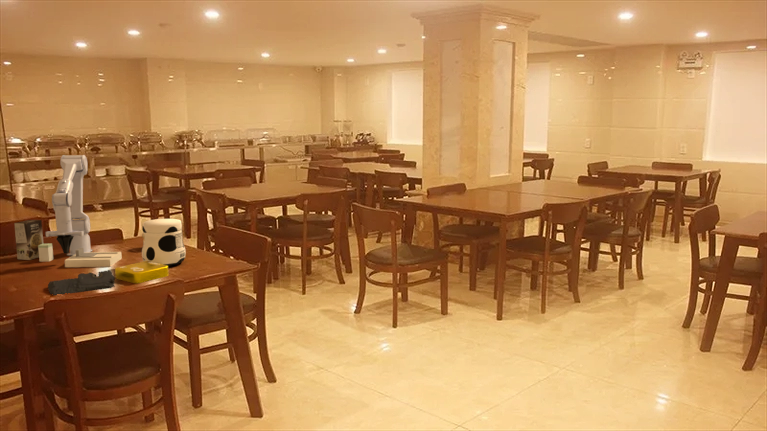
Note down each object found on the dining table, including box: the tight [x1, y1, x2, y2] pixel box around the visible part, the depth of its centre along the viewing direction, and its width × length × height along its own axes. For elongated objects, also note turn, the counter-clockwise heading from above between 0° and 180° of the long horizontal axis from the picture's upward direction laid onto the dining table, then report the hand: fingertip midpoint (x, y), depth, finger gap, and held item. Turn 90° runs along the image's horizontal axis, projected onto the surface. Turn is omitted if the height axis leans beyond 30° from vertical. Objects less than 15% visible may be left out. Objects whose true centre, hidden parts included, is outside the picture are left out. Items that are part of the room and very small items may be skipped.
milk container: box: [141, 218, 187, 267], centre depth 259 cm, size 17×17×18 cm
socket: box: [64, 251, 123, 268], centre depth 262 cm, size 14×18×4 cm
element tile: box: [114, 260, 170, 284], centre depth 241 cm, size 15×15×5 cm
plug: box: [38, 242, 54, 263], centre depth 266 cm, size 4×4×7 cm
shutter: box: [75, 248, 97, 257], centre depth 261 cm, size 6×6×3 cm
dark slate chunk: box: [47, 269, 116, 296], centre depth 227 cm, size 15×22×5 cm
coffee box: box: [13, 219, 44, 261], centre depth 270 cm, size 9×6×16 cm
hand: (66, 253), depth 261 cm, fingers closed
